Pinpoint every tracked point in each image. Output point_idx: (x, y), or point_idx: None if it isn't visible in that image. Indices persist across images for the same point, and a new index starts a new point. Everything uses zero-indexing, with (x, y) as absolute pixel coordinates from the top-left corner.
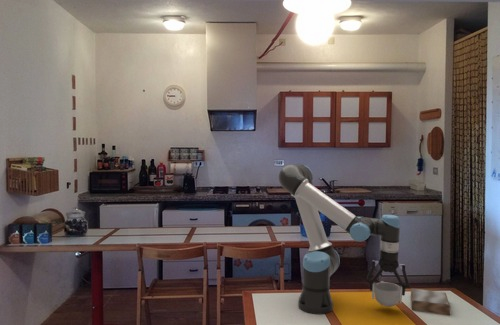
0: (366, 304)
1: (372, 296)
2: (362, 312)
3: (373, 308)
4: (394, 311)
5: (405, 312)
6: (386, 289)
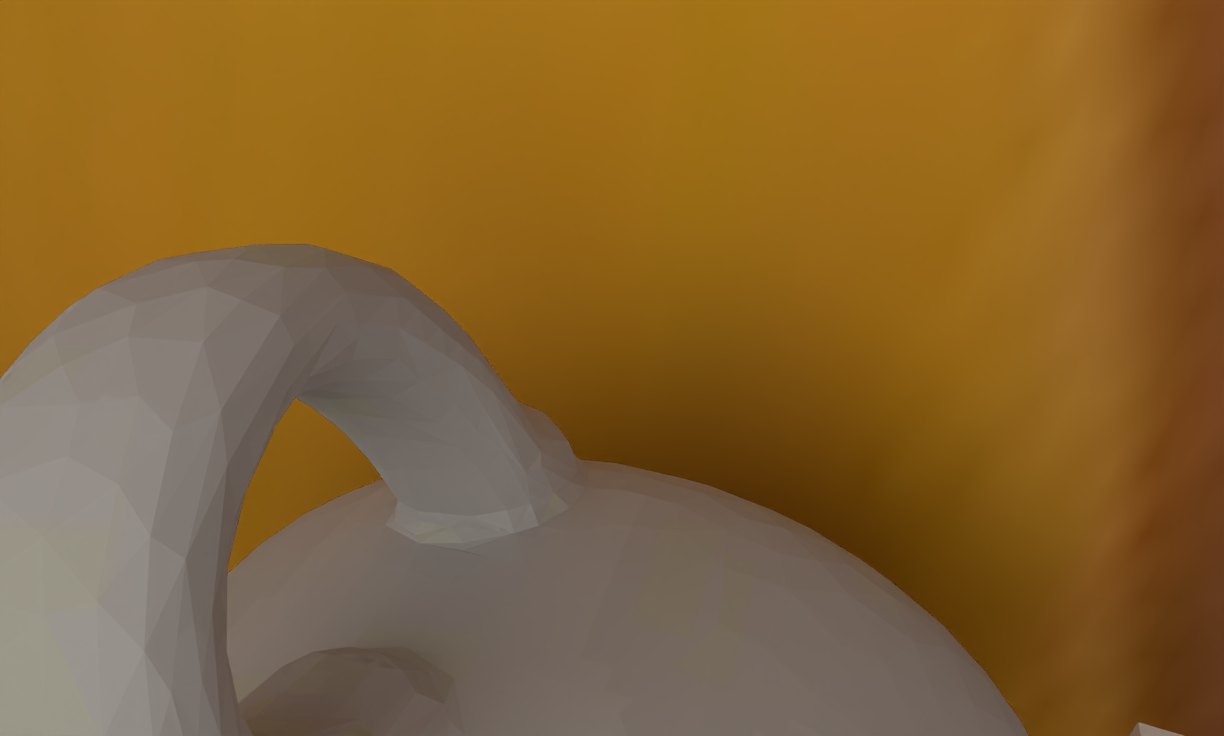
0: (162, 200)
1: None
2: None
3: (354, 455)
4: None
5: (1202, 682)
6: (559, 692)
